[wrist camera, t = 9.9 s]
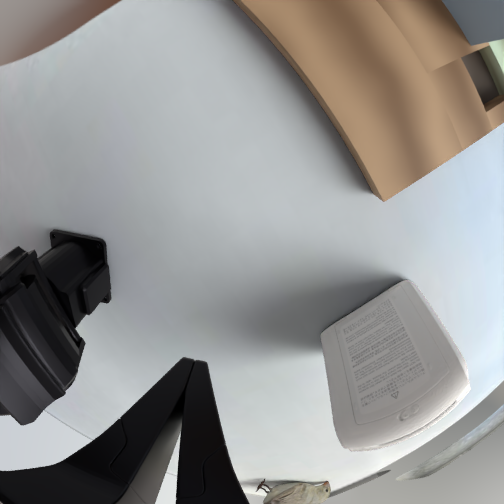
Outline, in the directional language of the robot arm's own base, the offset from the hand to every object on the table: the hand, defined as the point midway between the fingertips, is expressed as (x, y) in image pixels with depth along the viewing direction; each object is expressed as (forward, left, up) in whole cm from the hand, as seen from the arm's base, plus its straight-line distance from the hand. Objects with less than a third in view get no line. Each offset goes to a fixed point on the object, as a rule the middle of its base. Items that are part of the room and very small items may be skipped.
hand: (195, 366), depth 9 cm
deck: (+11, +19, -13) cm, 25 cm away
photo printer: (+13, -6, -13) cm, 20 cm away
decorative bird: (+19, -53, -13) cm, 58 cm away
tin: (+15, +23, -11) cm, 30 cm away
